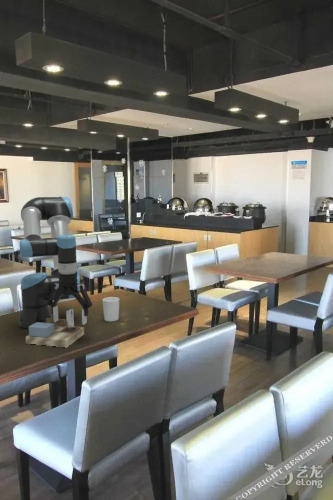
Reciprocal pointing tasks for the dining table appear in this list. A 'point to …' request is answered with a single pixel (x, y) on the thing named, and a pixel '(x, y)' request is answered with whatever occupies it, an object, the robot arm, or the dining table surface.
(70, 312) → the pin
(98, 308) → the dining table surface
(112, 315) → the white cup
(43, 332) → the block
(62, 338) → the base plate
